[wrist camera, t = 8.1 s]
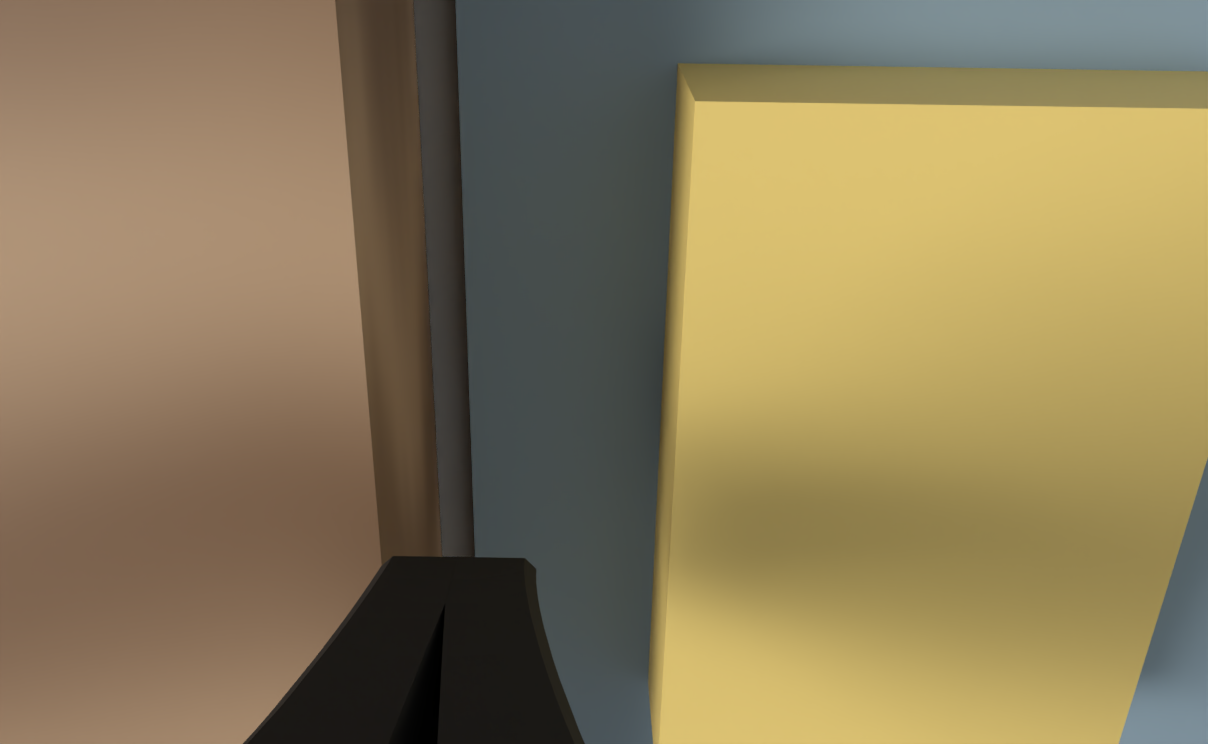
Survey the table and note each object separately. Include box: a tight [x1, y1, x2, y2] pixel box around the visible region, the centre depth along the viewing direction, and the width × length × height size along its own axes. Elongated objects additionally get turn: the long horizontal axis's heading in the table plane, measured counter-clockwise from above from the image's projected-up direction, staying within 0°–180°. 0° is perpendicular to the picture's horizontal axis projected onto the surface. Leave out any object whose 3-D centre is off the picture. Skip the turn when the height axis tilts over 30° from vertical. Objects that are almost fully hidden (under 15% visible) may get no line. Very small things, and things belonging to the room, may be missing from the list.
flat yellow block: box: [648, 63, 1208, 744], centre depth 13 cm, size 9×6×2 cm, turn 179°
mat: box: [455, 0, 1208, 744], centre depth 14 cm, size 18×14×1 cm
